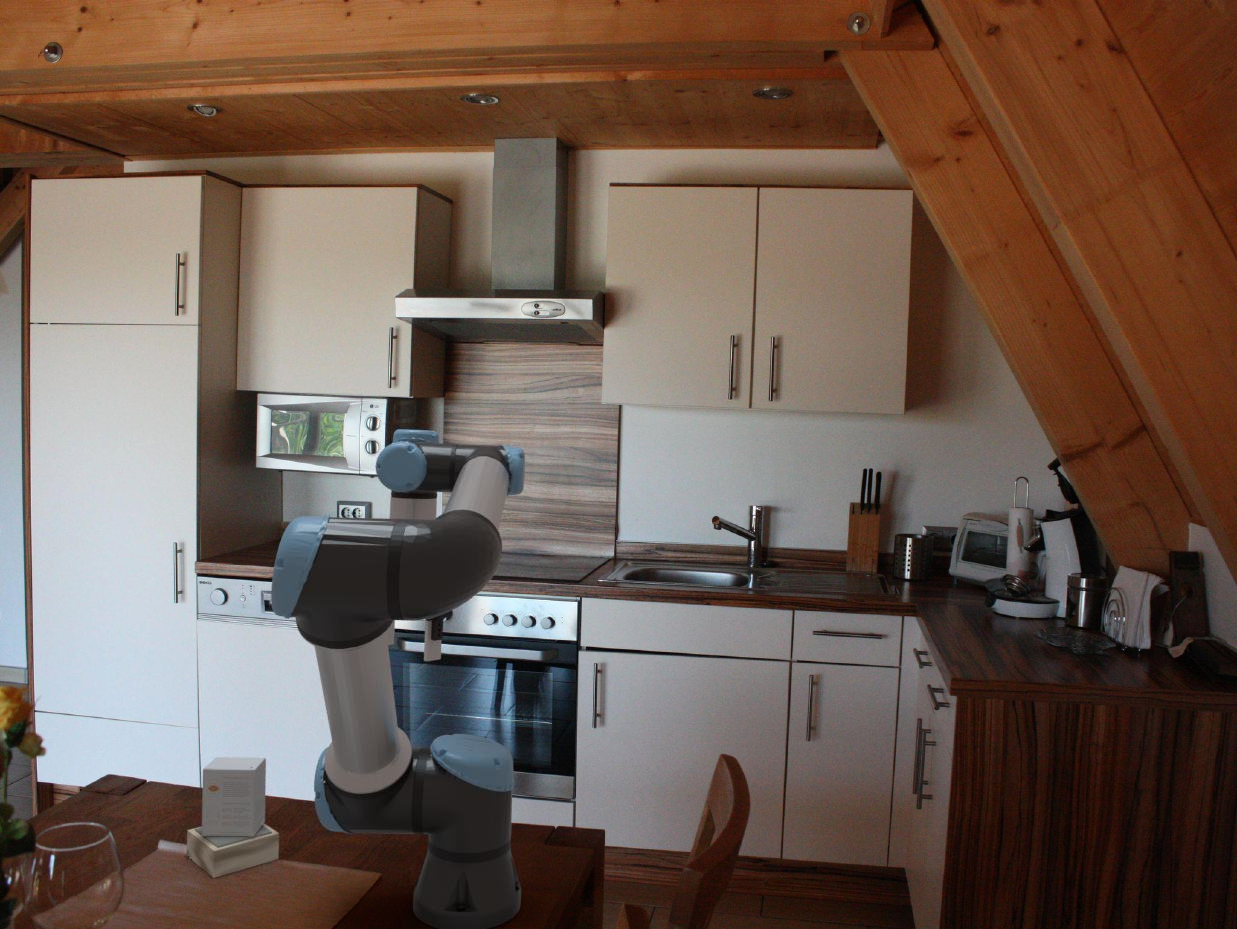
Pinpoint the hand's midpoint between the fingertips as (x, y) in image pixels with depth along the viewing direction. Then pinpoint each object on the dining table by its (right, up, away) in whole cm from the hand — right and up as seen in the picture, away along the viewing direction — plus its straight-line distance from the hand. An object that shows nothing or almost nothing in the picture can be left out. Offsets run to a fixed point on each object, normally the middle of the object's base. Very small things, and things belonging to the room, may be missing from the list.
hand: (408, 652), depth 159 cm
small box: (-25, -26, -9) cm, 37 cm away
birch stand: (-25, -30, -9) cm, 40 cm away
